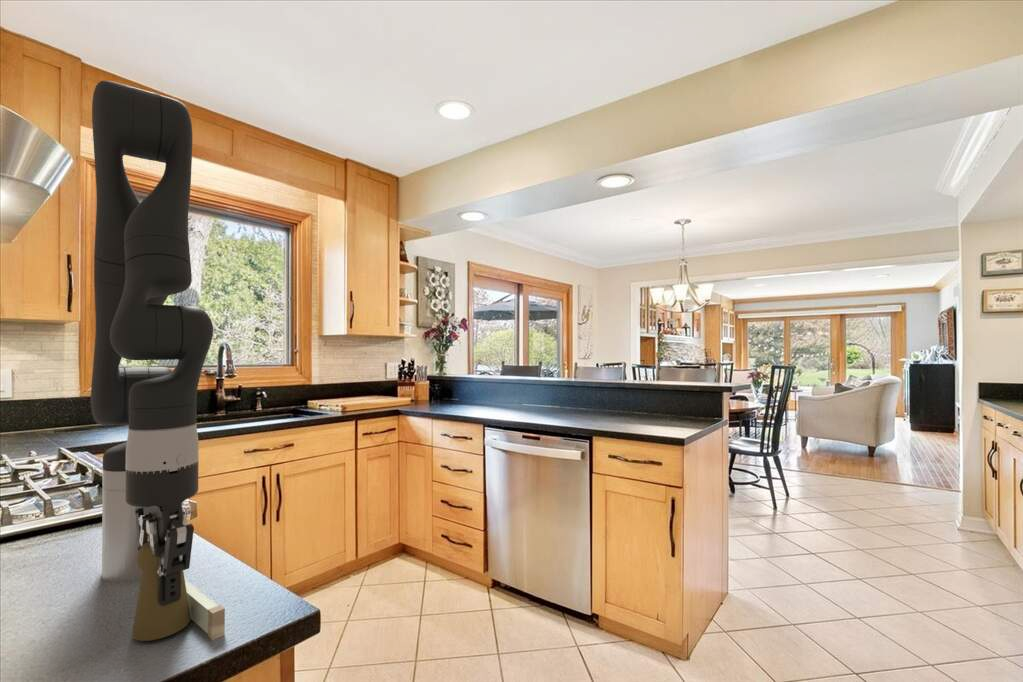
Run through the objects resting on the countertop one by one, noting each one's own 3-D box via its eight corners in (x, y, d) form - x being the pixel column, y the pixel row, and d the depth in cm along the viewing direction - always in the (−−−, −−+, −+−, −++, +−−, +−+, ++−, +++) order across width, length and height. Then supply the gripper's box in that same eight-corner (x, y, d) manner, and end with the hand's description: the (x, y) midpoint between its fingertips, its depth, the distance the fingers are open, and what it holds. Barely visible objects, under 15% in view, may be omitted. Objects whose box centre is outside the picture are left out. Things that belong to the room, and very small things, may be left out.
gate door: (175, 604, 67) (175, 583, 67) (185, 601, 68) (185, 580, 68) (207, 633, 60) (207, 610, 60) (218, 629, 61) (218, 605, 61)
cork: (182, 607, 65) (182, 526, 65) (197, 624, 61) (198, 538, 61) (126, 627, 61) (126, 540, 61) (139, 647, 57) (139, 554, 57)
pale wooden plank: (160, 594, 70) (161, 570, 71) (172, 590, 72) (172, 567, 72) (212, 641, 59) (212, 613, 59) (224, 636, 60) (224, 608, 60)
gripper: (110, 458, 63) (109, 589, 63) (145, 477, 54) (144, 630, 54) (177, 448, 69) (176, 568, 68) (218, 464, 60) (217, 602, 60)
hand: (162, 594), depth 61 cm, fingers closed on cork, 4 cm apart
